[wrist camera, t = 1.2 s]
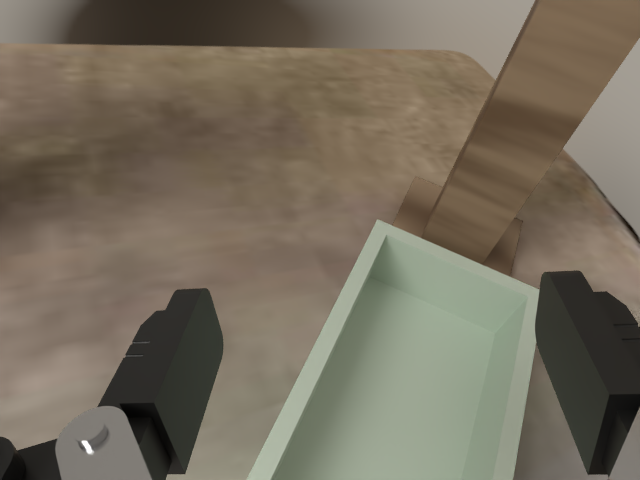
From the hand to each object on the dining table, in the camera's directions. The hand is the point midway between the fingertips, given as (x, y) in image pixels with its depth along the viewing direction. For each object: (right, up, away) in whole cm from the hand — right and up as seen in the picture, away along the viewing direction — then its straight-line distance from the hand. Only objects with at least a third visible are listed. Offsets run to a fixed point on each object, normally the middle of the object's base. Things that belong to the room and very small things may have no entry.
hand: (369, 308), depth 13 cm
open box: (+3, -10, +20) cm, 23 cm away
